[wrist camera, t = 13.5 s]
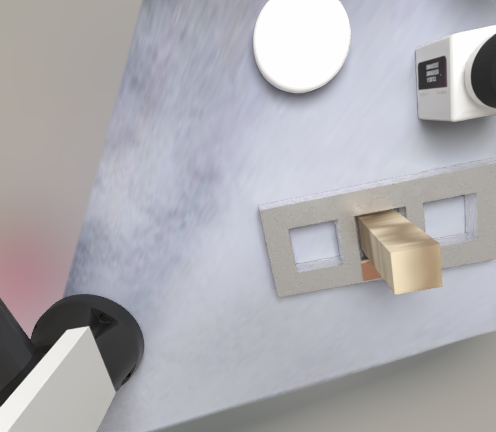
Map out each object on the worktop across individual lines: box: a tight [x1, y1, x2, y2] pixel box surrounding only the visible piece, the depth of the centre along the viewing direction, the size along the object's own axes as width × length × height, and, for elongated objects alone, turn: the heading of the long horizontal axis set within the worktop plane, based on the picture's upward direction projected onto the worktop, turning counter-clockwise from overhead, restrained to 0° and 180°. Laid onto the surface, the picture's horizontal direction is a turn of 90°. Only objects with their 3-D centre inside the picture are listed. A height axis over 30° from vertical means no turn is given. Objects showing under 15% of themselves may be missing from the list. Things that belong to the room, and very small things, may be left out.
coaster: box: [253, 0, 351, 93], centre depth 36 cm, size 10×10×4 cm
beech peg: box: [356, 209, 443, 295], centre depth 38 cm, size 4×4×12 cm
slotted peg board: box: [259, 158, 496, 297], centre depth 43 cm, size 28×12×3 cm, turn 102°
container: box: [416, 25, 496, 122], centre depth 32 cm, size 8×8×13 cm
